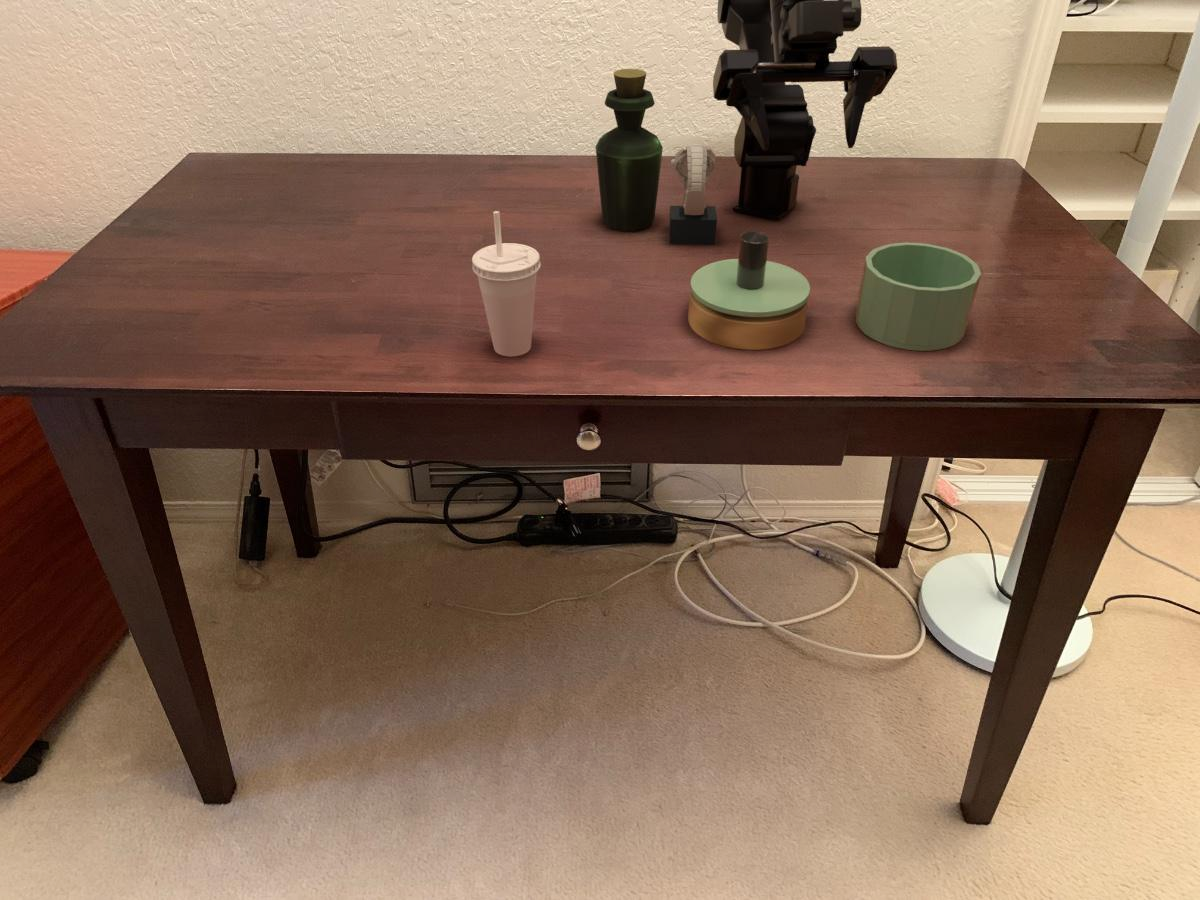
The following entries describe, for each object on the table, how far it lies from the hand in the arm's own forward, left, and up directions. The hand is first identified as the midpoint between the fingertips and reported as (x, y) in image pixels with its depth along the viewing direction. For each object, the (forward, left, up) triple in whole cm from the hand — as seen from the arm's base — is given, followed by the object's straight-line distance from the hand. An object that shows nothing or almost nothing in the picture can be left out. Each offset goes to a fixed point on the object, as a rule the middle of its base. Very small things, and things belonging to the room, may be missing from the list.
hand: (809, 147), depth 97 cm
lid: (+1, -15, -10) cm, 18 cm away
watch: (-14, +1, -14) cm, 19 cm away
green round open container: (+15, -7, -14) cm, 22 cm away
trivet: (+1, -15, -14) cm, 20 cm away
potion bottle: (-23, +1, -14) cm, 27 cm away
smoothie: (-17, -32, -14) cm, 38 cm away
